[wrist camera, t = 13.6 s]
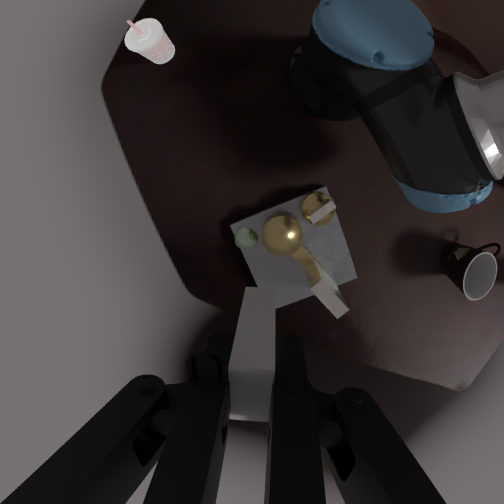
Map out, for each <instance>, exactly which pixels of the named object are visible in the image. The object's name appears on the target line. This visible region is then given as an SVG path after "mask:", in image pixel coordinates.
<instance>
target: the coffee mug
mask: <svg viewBox="0 0 504 504" xmlns="http://www.w3.org/2000/svg"><path fill="white" fill-rule="evenodd" d="M491 246H497V247H498V250H497V252H496V253H494V254H493V255H492V254H491V253H489V252H486V251H482V249H485V248H487V247H491ZM500 251H501V246H500V245H499V244H498V243H491V244H487V245H484V246H482V247H480V248H477V249H475V248H472V247H468V246H465V245H461V244H458V243H451V244H449V245H448V246H447V247H446V248H445V249H444V250H443V252H442V254H441V257H440V267H441V269H442V271H443V272H444V273H445V274H446V275H447V276H448V277H449V278H450V279H451V280H452V281H453V283H454V284H455V285H456V286H457V287H458V288H459V289H460V290H461V291H462V292H463V293H464V295H465V296H466V297H467V298H468V299H470V300H479V299H481V298H483V297H484V296H485V295H486V294H487V293H488V292H489V291H490V289H491V288H492V286H493V284H494V282H495V279H496V275H497V262H496V259H495V257H496V256H497V255H498V254H499V253H500Z"/></svg>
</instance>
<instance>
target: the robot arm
mask: <svg viewBox="0 0 504 504" xmlns="http://www.w3.org/2000/svg"><path fill="white" fill-rule="evenodd" d="M432 36H433V31H432V28H431V25H430V23H429V22H428V20H427V18H426V17H425V16H424V14H423V13H422V12H421V11H420V9H419V8H417V7H416V6H415V5H414V4H413V3H412V2H411V1H410V0H321V1H320V4H319V6H318V7H317V8H316V10H315V12H314V13H313V18H312V24H311V28H310V33H309V37H308V40H306V41H305V42H303V43H302V44H301V45H300V46H299V47H298V48H297V49H296V50H295V52H294V53H293V55H292V57H291V60H290V64H289V70H288V79H289V84H290V87H291V89H292V92H293V94H294V95H295V97H296V98H297V100H298V101H299V102H300V103H301V104H302V105H303V106H304V107H305V108H306V109H307V110H309V111H310V112H312V113H313V114H315V115H317V116H319V117H322V118H325V119H328V120H333V121H347V120H352V119H355V118H358V117H361V119H362V120H363V122H364V123H365V125H366V127H367V128H368V130H369V131H370V133H371V135H372V136H373V138H374V140H375V142H376V143H377V145H378V147H379V148H380V150H381V152H382V154H383V156H384V157H385V159H386V161H387V163H388V165H389V167H390V168H391V174H392V176H393V178H394V180H395V181H396V182H397V183H398V184H399V186H400V187H401V189H402V191H403V193H404V195H405V197H406V198H407V200H408V201H409V202H410V203H411V204H412V205H414V206H415V207H416V208H419V209H421V210H424V211H427V212H434V213H447V212H455V211H460V210H463V209H466V208H469V206H470V204H478V203H480V202H481V201H483V200H484V199H485V198H486V197H487V196H488V195H489V194H490V192H491V189H492V183H493V181H496V180H500V179H502V177H503V175H504V70H503V71H501V72H498V73H495V74H493V75H490V76H488V77H485V78H482V79H480V80H475V79H473V78H471V77H468V76H466V75H464V74H462V73H459V72H457V73H454V74H452V75H450V76H448V77H445V76H444V75H443V74H442V72H441V70H440V69H439V67H438V66H437V64H436V63H435V61H434V59H433V58H432V56H431V54H432V51H433V48H434V40H433V39H432ZM440 73H441V74H440ZM392 97H393V98H392ZM390 98H391V99H390ZM377 105H378V106H377ZM375 106H376V107H375ZM186 364H187V372H188V381H186V382H183V383H178V384H167V385H165V383H164V381H163V380H162V379H161V378H159V377H157V376H155V375H150V374H149V375H141V376H137V377H135V378H134V379H132V380H131V381H130V382H129V383H128V384H127V385H126V386H125V387H124V388H122V389H121V391H119V392H118V393H117V394H116V395H115V396H114V397H113V398H112V399H111V400H110V401H109V402H108V403H107V404H106V405H105V406H104V407H103V408H102V409H101V410H100V411H98V412H97V413H96V414H95V415H94V416H93V417H92V418H91V419H90V420H89V421H88V422H87V423H86V424H85V425H84V426H83V427H82V428H81V429H80V430H78V432H76V433H75V434H74V435H73V436H72V437H71V438H70V439H69V440H68V441H67V442H66V443H65V444H64V445H63V446H62V447H61V448H59V449H58V450H57V451H56V452H55V453H54V454H53V455H52V456H51V457H50V458H49V459H48V460H47V461H46V462H45V463H44V464H42V465H41V466H40V467H39V468H38V469H37V470H36V471H35V472H34V473H33V474H32V475H31V476H30V477H29V478H27V479H26V480H25V481H24V482H23V483H22V484H21V485H20V486H19V487H18V488H17V489H16V490H15V491H14V492H12V493H11V494H10V495H9V496H8V497H7V498H6V499H5V500H4V501H3V502H2V503H0V504H125V503H126V502H127V501H128V499H129V498H130V497H131V495H132V494H133V493H134V492H135V490H136V489H137V488H138V486H139V485H140V484H141V483H142V481H143V480H144V479H145V477H146V476H147V475H148V473H149V472H150V471H151V469H152V468H153V467H154V465H155V464H156V463H157V461H158V463H157V466H156V468H155V471H154V474H153V477H152V479H151V482H150V485H149V488H148V491H147V494H146V496H145V499H144V502H143V504H216V498H217V492H218V487H219V481H220V475H221V470H222V464H223V458H224V453H225V447H226V441H227V435H228V420H229V414H230V419H237V420H250V421H267V422H269V428H268V437H267V463H266V481H265V497H264V504H326V498H325V487H324V478H323V467H322V458H321V451H322V453H323V455H324V457H325V459H326V462H327V464H328V466H329V469H330V471H331V473H332V475H333V478H334V480H335V482H336V484H337V486H338V488H339V491H340V493H341V495H342V497H343V499H344V501H345V504H446V502H445V501H444V499H443V498H442V497H441V495H440V494H439V492H438V491H437V489H436V488H435V486H434V485H433V483H432V482H431V480H430V479H429V478H428V476H427V475H426V473H425V472H424V470H423V469H422V468H421V466H420V465H419V463H418V462H417V460H416V459H415V458H414V456H413V454H412V453H411V452H410V450H409V449H408V448H407V446H406V445H405V443H404V442H403V440H402V439H401V437H400V436H399V435H398V433H397V432H396V430H395V429H394V427H393V426H392V425H391V423H390V422H389V420H388V419H387V418H386V416H385V415H384V413H383V412H382V411H381V409H380V408H379V406H378V405H377V403H376V402H375V401H374V399H373V398H372V396H371V395H370V394H369V393H368V392H366V391H364V390H363V389H360V388H355V387H347V388H344V389H341V390H339V391H338V392H337V394H336V395H333V394H328V393H324V392H321V391H318V390H317V389H315V388H314V387H313V386H312V385H311V383H310V382H309V381H308V377H307V370H306V363H305V357H304V348H303V341H302V340H301V339H300V338H299V337H298V336H297V335H286V334H275V288H258V287H246V289H245V294H244V298H243V303H242V307H241V312H240V316H239V321H238V325H237V330H236V333H235V332H223V331H222V332H221V331H216V332H214V333H213V334H212V335H211V336H210V337H209V340H208V342H207V345H206V348H205V351H204V352H199V353H195V354H193V355H192V356H190V357H189V358H188V359H187V360H186ZM320 448H321V449H320Z"/></svg>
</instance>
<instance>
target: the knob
mask: <svg viewBox="0 0 504 504" xmlns="http://www.w3.org/2000/svg"><path fill="white" fill-rule="evenodd" d="M261 238H262V243H263V246H264V247H265V249H266V250H267V251H268V252H269V253H271V254H272V255H274V256H278V257H287V256H290V255H292V256H293V257H294V258H295V259H296V260H297V261H298V262H299V264H300V265H301V266H302V267H303V268H304V271H305V275H306V278H307V281H308V285H309V288H310V290H311V291H312V292H313V293H314V294H315V295H316V296H317V298H318V299H319V300H320V301H321V302H322V303H323V304H324V305H325V306H326V307H327V308H328V309H329V310H330V311H331V313H332V314H333V315H334V316H335V317H336V318H337V319H338V318H339V317H341V316H342V315H343V314H344V313H346V312H347V311H348V310H349V309H348V307H347V305H346V303H345V301H344V299H343V297H342V295H341V293H340V291H339V289H338V287H337V285H336V283H335V281H334V280H333V279H332V278H331V277H330V276H329V274H328V273H327V272H326V271H325V270H324V269H323V268H322V267H321V265H320V264H319V263H318V262H317V261H316V260H315V259H314V258H313V257H312V255H311V254H310V253H309V252H308V251H307V250H306V249H305V248H304V247H303V246H302V242H303V232H302V229H301V226H300V224H299V223H298V221H297V220H296V219H295V218H294V217H293V216H291V215H289V214H286V213H277V214H274V215H272V216H270V217H269V218H268V219H267V220H266V221H265V223H264V225H263V228H262V235H261Z"/></svg>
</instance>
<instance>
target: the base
mask: <svg viewBox="0 0 504 504" xmlns="http://www.w3.org/2000/svg"><path fill="white" fill-rule="evenodd" d="M335 208H336V206H335V203H334V201H333V199H332V198H331V197H330V196H329V193H328V190H327V188H326V186H322V187H319V188H316V189H314V190H311V191H309V192H306V193H304V194H301V195H299V196H296V197H294V198H291V199H289V200H286V201H284V202H281V203H279V204H276V205H274V206H271V207H269V208H266V209H264V210H261V211H259V212H257V213H254V214H252V215H249V216H247V217H245V218H242V219H240V220H237V221H235V222H233V223H231V225H230V227H231V229H232V231H233V233H234V235H235V243H236V245H237V246H238V247H239V248H240V249H241V251H242V253H243V255H244V257H245V260H246V262H247V264H248V266H249V268H250V271H251V273H252V275H253V277H254V279H255V282H256V284H257V286H258V288H275V309H276V308H279V307H282V306H285V305H288V304H290V303H293V302H296V301H298V300H301V299H304V298H306V297H309V296H312V295H314V293H313V292H312V291H311V290H310V288H309V285H308V281H307V278H306V275H305V271H304V268H303V267H302V266H301V265H300V264H299V262H298V261H297V260H296V259H295V258H294V257H293V256H292V255H290V256H287V257H278V256H274V255H272V254H271V253H269V252H268V251H267V250H266V249H265V247H264V246H263V243H262V238H261V235H262V228H263V225H264V223H265V221H266V220H267V219H268V218H269V217H270V216H272V215H274V214H277V213H286V214H289V215H291V216H293V217H294V218H295V219H296V220H297V221H298V223H299V224H300V226H301V229H302V232H303V242H302V246H303V247H304V248H305V249H306V250H307V251H308V252H309V253H310V254H311V255H312V257H313V258H314V259H315V260H316V261H317V262H318V263H319V264H320V265H321V267H322V268H323V269H324V270H325V271H326V272H327V273H328V274H329V276H330V277H331V278H332V279H333V280H334V281H335V283H336V285H337V286H338V285H340V284H343V283H345V282H347V281H350V280H352V279H355V278H357V275H356V272H355V268H354V265H353V262H352V259H351V256H350V253H349V250H348V247H347V244H346V241H345V238H344V235H343V232H342V229H341V226H340V223H339V220H338V217H337V215H336V212H335Z"/></svg>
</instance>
